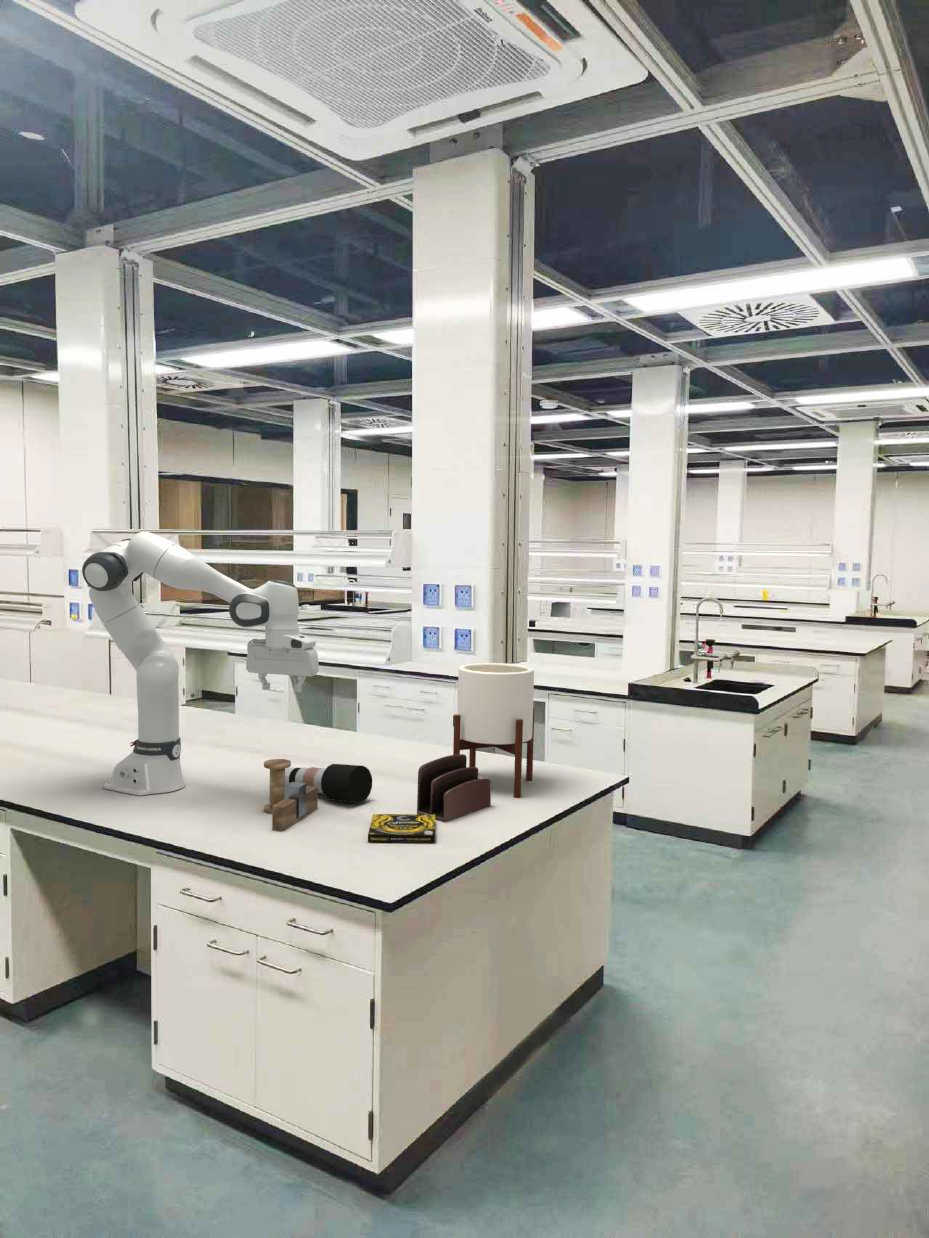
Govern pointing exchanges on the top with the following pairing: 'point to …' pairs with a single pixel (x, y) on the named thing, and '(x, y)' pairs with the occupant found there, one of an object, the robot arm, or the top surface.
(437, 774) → the letter holder
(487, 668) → the plant pot with stand
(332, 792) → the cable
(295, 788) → the block
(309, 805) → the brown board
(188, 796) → the top surface
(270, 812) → the bobbin
